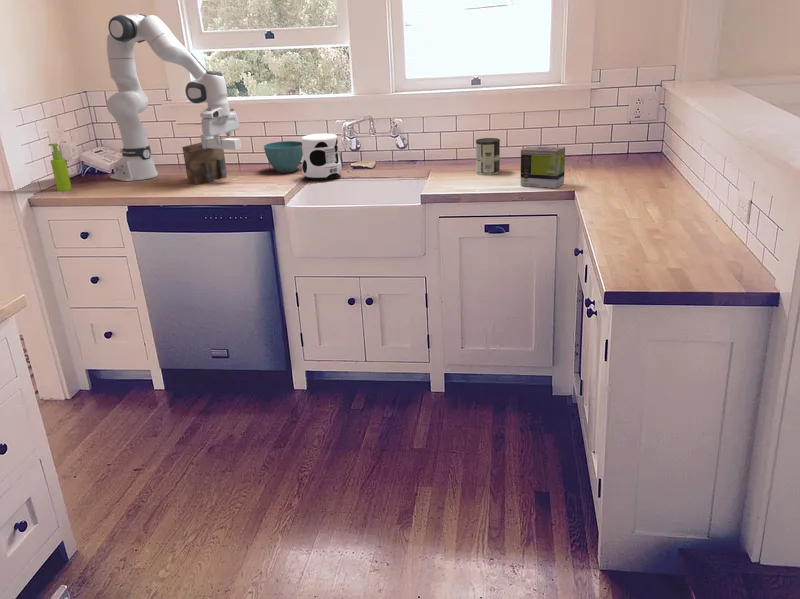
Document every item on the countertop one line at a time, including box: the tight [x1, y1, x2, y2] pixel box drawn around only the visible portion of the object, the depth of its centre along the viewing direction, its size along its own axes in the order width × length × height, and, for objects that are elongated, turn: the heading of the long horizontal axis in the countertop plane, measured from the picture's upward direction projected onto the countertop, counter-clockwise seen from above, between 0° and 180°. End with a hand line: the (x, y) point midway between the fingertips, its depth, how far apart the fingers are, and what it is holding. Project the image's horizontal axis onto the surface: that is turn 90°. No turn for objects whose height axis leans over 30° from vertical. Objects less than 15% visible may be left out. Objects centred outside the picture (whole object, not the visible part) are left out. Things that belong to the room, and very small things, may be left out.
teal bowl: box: [263, 140, 303, 174], centre depth 323 cm, size 18×18×12 cm
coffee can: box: [475, 137, 501, 176], centre depth 301 cm, size 10×10×14 cm
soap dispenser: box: [48, 143, 73, 192], centre depth 306 cm, size 6×7×20 cm
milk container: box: [301, 133, 342, 181], centre depth 305 cm, size 17×17×18 cm
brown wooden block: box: [181, 142, 228, 185], centre depth 313 cm, size 8×20×16 cm, turn 152°
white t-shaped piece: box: [200, 133, 242, 151], centre depth 305 cm, size 17×8×6 cm, turn 62°
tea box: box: [520, 145, 566, 189], centre depth 275 cm, size 15×10×15 cm
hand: (223, 143), depth 305 cm, fingers closed on white t-shaped piece, 4 cm apart
